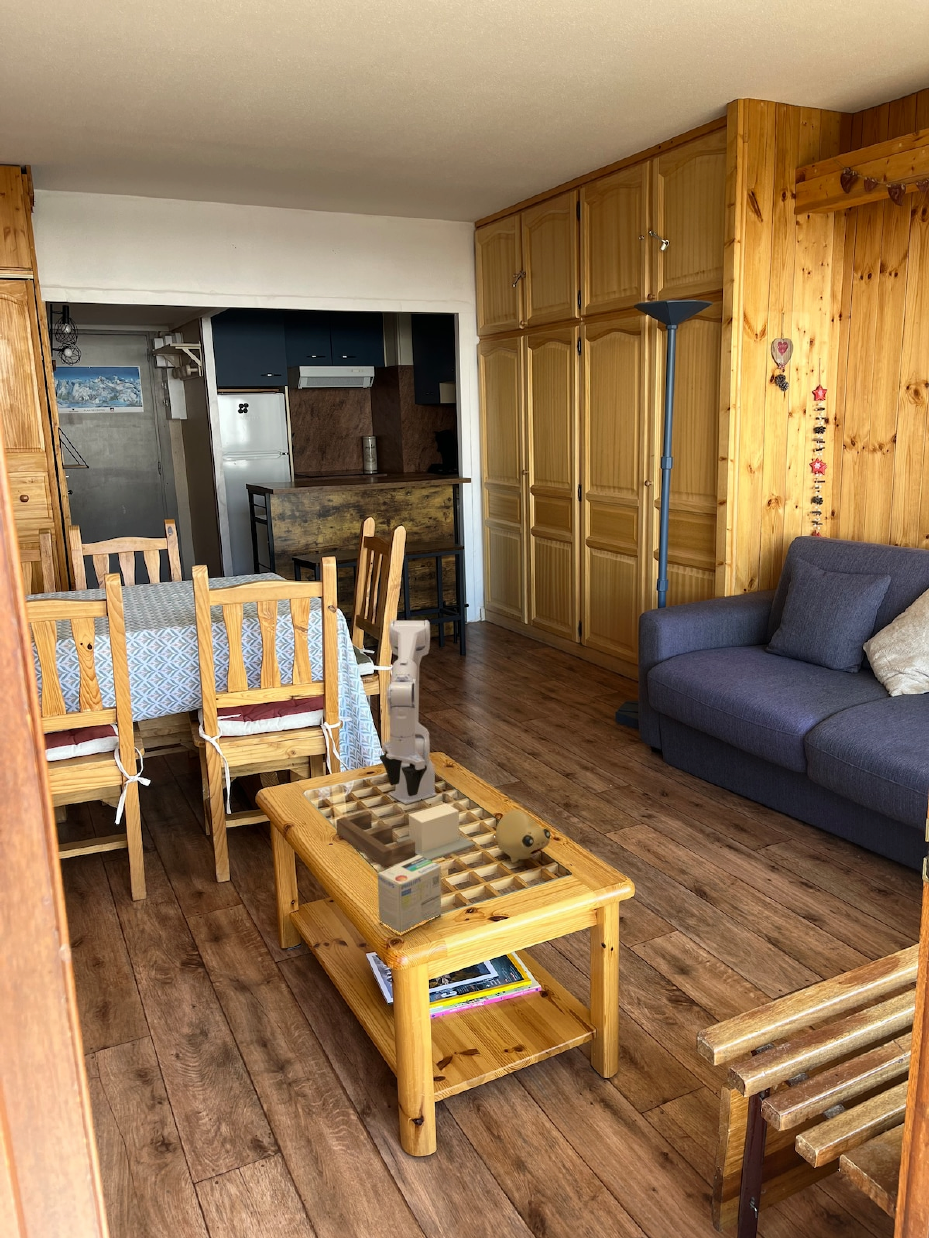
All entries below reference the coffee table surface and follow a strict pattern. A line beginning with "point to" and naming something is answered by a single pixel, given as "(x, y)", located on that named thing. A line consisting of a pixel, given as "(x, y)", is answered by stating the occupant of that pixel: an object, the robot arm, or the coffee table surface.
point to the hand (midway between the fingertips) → (403, 789)
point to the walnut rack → (374, 839)
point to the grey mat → (443, 848)
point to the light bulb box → (409, 893)
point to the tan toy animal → (520, 835)
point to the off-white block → (434, 827)
